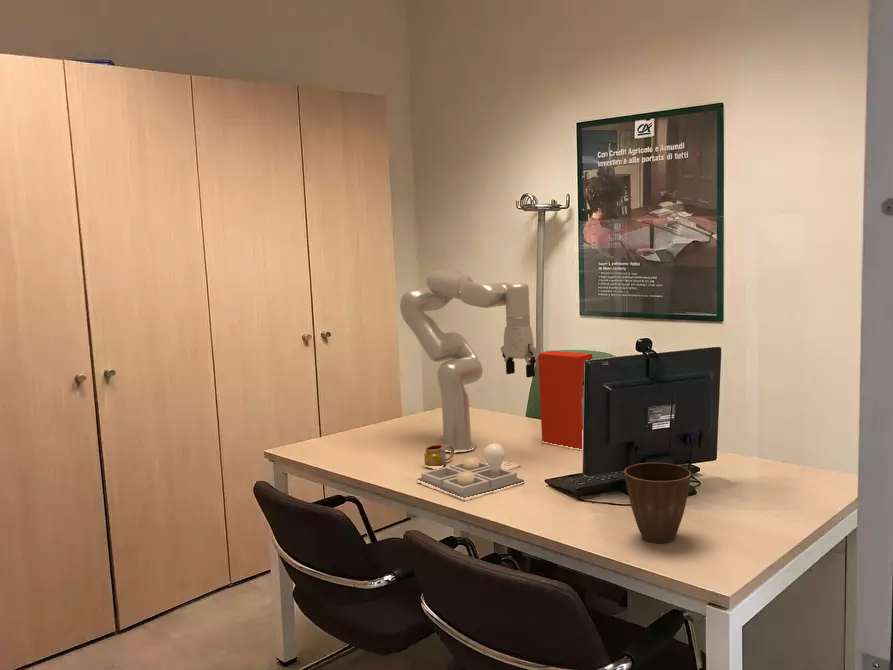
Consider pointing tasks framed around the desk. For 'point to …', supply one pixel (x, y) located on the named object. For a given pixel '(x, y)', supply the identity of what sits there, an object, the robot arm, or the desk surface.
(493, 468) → the lightbulb
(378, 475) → the desk surface
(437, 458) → the mug
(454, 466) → the compartment tray
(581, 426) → the file binder
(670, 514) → the plant pot
